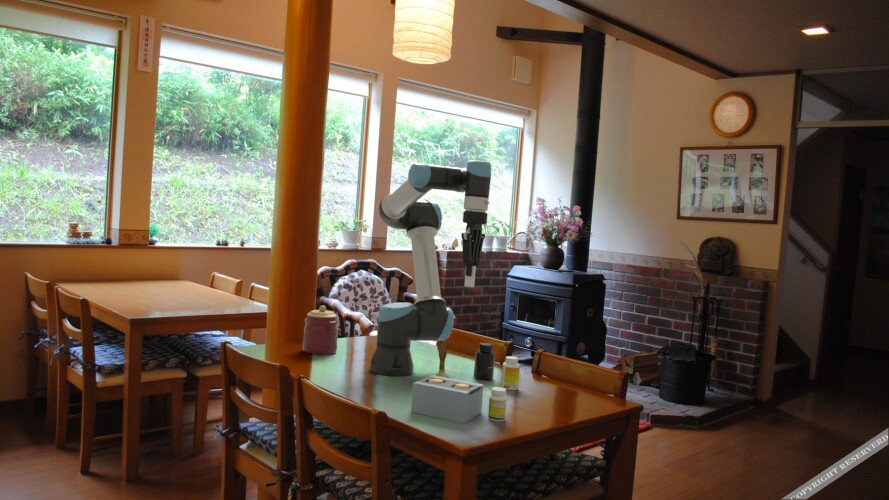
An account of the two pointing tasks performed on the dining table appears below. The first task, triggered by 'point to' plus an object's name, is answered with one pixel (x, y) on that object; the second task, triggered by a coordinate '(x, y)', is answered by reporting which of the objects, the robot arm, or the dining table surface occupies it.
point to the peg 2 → (462, 386)
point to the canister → (320, 332)
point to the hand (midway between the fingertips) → (469, 286)
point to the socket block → (447, 399)
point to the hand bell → (442, 360)
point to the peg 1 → (436, 381)
